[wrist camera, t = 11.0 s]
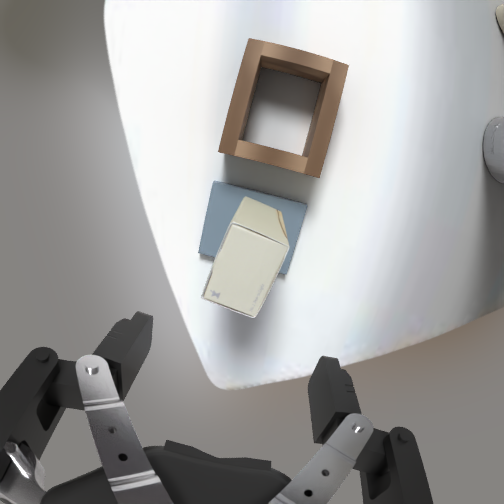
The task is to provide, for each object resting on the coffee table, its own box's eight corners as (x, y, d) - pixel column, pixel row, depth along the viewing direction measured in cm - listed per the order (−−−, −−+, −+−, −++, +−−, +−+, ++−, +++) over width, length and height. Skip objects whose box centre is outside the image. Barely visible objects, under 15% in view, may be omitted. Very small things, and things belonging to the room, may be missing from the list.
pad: (306, 203, 32) (307, 205, 31) (285, 270, 34) (286, 274, 33) (214, 180, 31) (213, 181, 30) (200, 249, 34) (198, 253, 33)
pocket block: (337, 75, 27) (348, 65, 22) (311, 173, 30) (319, 178, 26) (251, 52, 26) (248, 38, 22) (224, 151, 30) (218, 152, 26)
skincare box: (259, 261, 33) (255, 323, 22) (221, 245, 32) (198, 300, 21) (283, 209, 31) (293, 247, 19) (243, 192, 30) (230, 221, 19)
